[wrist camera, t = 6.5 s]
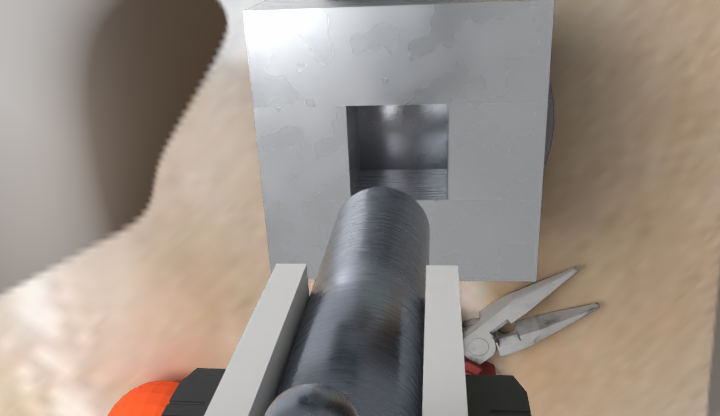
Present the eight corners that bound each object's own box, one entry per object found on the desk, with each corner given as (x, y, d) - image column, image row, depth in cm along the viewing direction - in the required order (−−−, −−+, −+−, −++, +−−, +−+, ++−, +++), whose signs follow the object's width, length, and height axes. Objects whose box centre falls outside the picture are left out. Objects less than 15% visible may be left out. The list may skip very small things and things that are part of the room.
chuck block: (263, -29, 34) (214, -15, 26) (550, -40, 32) (584, -30, 25) (287, 227, 39) (252, 297, 32) (533, 227, 37) (557, 301, 30)
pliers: (628, 349, 40) (640, 375, 38) (352, 469, 46) (347, 499, 44) (536, 197, 37) (543, 215, 35) (254, 346, 43) (243, 371, 41)
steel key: (329, 133, 20) (176, 431, 8) (429, 132, 20) (422, 441, 8) (340, 317, 23) (233, 752, 11) (429, 319, 22) (423, 771, 10)
